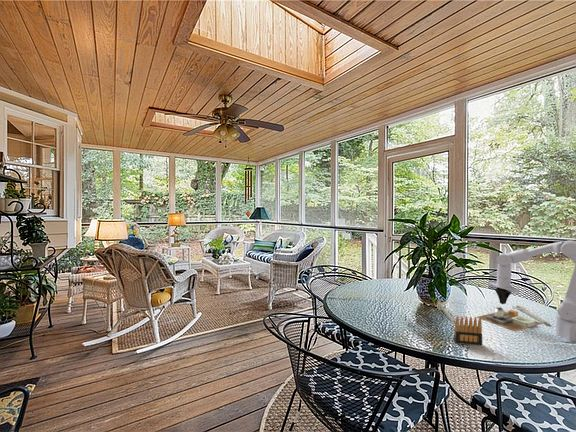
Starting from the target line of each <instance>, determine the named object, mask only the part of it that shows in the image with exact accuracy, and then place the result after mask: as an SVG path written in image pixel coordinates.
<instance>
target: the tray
mask: <svg viewBox="0 0 576 432" xmlns="http://www.w3.org/2000/svg"><path fill="white" fill-rule="evenodd" d="M511 319H512V320H513V323H515V324H518V325H521V326H524V327H530V326H533V327H535V326H534V325H535V321H536V320H533V319H530V318H527V317H524V316H521V315H518V316H517V317H513V318H511ZM530 328H531V327H530Z"/></svg>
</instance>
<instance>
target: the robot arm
mask: <svg viewBox="0 0 576 432" xmlns="http://www.w3.org/2000/svg"><path fill="white" fill-rule="evenodd" d="M549 253H554V254H560V253H561V254H562V255H564V256H566V257H567V258H569V259H570V260H571V261H572V262H573V263H574V264H575V265H574V267H573V271H572V274H571V277H570V279H569V283H568V287H567V290H566V292H565V294H564V295H565V296H564V297H563V298H564V299H563V301H562V302H560V303H559V305H558V309H557V314H556V317H555V318H556V321H555V335H557V336H559V337H560V338H563V339H565V340H567V341H566V343H568V344H570V343H571V344H576V241H575V240H569V239H568V240H565V241H557V242H553V243H549V244H544V245H541V246H538V247H534V248H531V249H526V248H521V247H518V248H517V249H516V250H513V251H506V252H505V253H500V254H499V255H498V256H497V257H496V263H497V268H496V282H494V281H489V282H488V286H489V287H494V288H496V289H494V290H495V293H496V295H497V297H498V300H499V304H502V305H506V303H507V300H508V298H509V296H510V295H511V294H512V293H513V294H515V295H519V294H520V289H517V288H515V287H512V286H511V285H512V284H511V283H512V264H517V263H521V262H526V261H529V260H530V259H531V258H532V257H533V256H534V257H535V256H539V255H543V254H544V255H545V254H549Z"/></svg>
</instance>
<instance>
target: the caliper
mask: <svg viewBox="0 0 576 432" xmlns="http://www.w3.org/2000/svg"><path fill="white" fill-rule="evenodd" d="M436 306H437V308H436V309H437V310H438V311H442V312H443V313H444V314H445V315H446V316H447V318H448V319H449V320H450V322H451V323H452V324H453V325H455V323H456V319H454V318H453V316H452V315H451V314H450V313H449V311H448V310H447V308H446V307H445V305H444V304H443V303H442V300H441V299H438V300H437V305H436Z"/></svg>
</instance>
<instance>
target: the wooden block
mask: <svg viewBox="0 0 576 432" xmlns="http://www.w3.org/2000/svg"><path fill="white" fill-rule="evenodd" d="M507 312H508V315H504V320H505V318H509V317H513V316H515V317H517V316H519V312H518V310H515V309H514V310H513V309H511V310H507Z"/></svg>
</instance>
